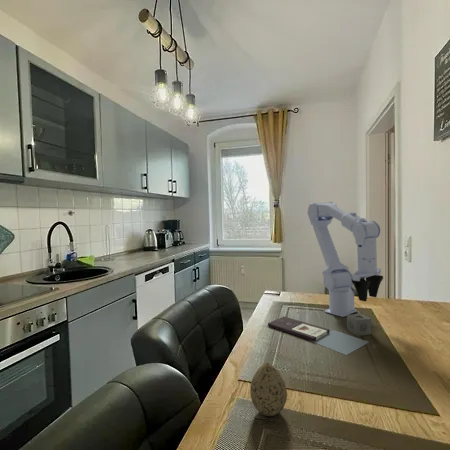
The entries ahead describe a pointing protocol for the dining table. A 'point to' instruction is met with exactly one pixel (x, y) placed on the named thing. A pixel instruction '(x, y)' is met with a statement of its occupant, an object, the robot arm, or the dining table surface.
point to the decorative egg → (268, 390)
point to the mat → (340, 342)
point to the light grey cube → (359, 324)
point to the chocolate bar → (299, 328)
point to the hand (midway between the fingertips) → (367, 298)
